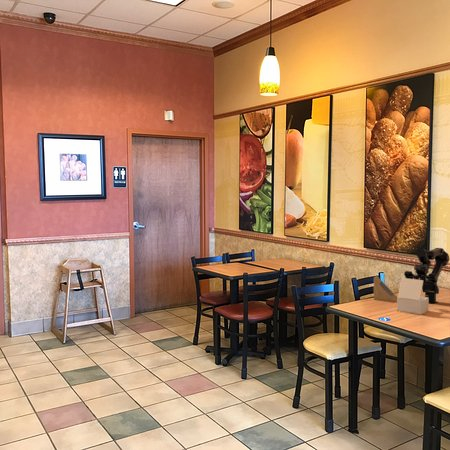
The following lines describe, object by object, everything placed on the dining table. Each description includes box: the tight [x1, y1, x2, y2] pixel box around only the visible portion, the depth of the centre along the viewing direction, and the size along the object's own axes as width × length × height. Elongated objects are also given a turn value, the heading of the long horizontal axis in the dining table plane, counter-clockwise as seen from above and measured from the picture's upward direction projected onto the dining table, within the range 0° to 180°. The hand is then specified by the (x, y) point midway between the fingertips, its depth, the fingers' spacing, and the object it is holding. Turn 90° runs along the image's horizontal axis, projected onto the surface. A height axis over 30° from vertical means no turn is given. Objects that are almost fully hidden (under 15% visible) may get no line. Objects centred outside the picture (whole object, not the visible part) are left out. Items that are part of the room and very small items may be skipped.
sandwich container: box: [373, 275, 398, 303], centre depth 320 cm, size 9×15×15 cm, turn 62°
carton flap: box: [397, 277, 423, 301], centre depth 286 cm, size 12×13×1 cm
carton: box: [396, 296, 430, 316], centre depth 290 cm, size 12×14×8 cm
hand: (416, 287), depth 293 cm, fingers closed
